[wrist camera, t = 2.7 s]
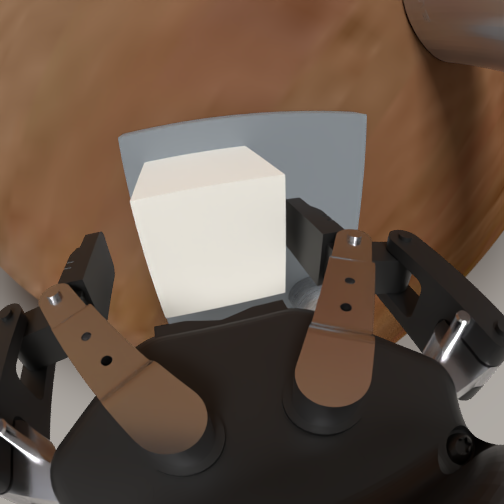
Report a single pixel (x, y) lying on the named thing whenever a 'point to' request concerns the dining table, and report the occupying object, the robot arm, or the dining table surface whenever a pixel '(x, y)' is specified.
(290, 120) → the base plate
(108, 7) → the dining table surface
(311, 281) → the stub
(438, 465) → the robot arm
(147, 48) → the dining table surface
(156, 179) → the cream rounded cube
